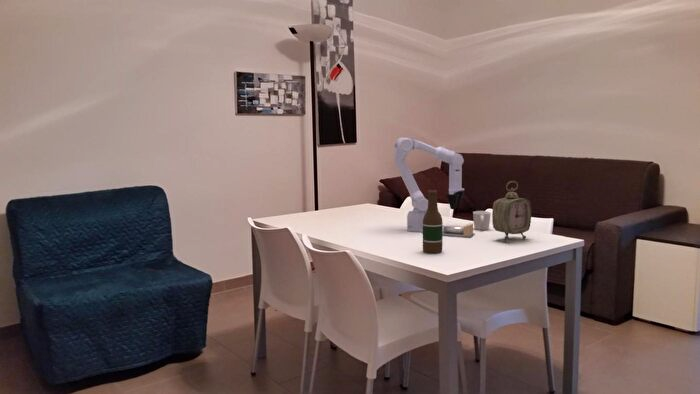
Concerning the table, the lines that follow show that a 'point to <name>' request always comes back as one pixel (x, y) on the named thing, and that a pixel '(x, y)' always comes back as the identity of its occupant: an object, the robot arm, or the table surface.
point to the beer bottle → (432, 226)
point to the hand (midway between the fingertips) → (455, 208)
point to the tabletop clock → (511, 214)
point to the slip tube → (453, 229)
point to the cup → (481, 220)
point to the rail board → (466, 232)
